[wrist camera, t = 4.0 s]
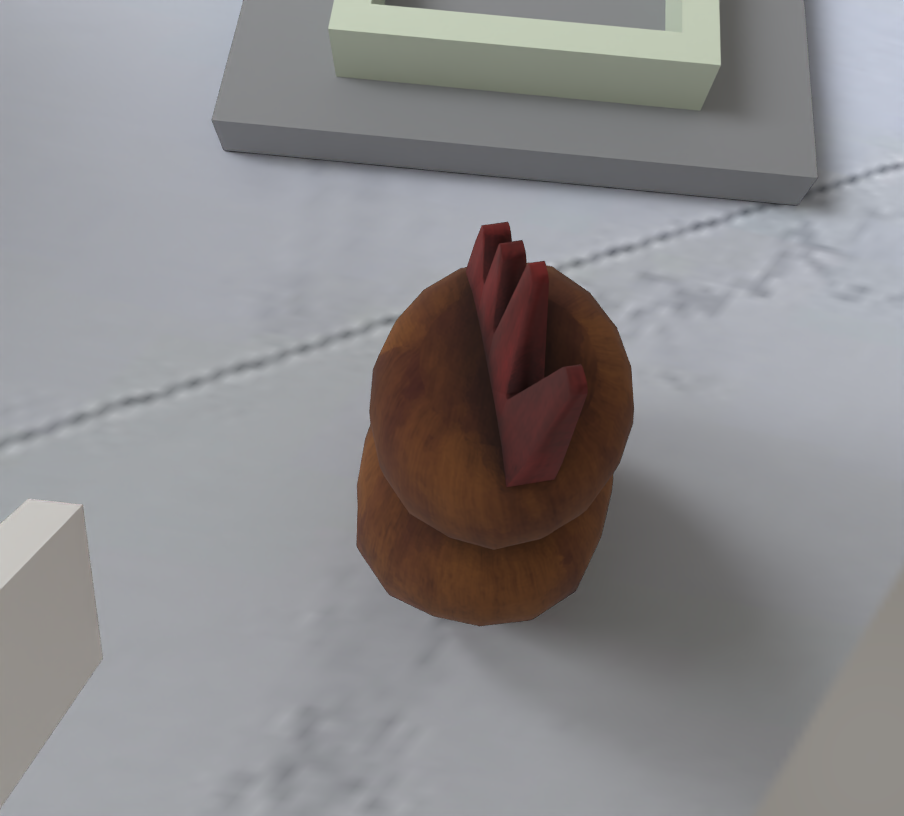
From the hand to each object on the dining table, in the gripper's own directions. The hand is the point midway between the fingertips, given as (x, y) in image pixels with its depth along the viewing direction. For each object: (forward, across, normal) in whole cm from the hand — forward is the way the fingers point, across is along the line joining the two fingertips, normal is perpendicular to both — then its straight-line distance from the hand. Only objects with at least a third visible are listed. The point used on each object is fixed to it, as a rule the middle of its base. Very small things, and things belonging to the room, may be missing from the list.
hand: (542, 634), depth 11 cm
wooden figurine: (+11, -1, -5) cm, 12 cm away
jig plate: (+25, -1, +10) cm, 27 cm away
